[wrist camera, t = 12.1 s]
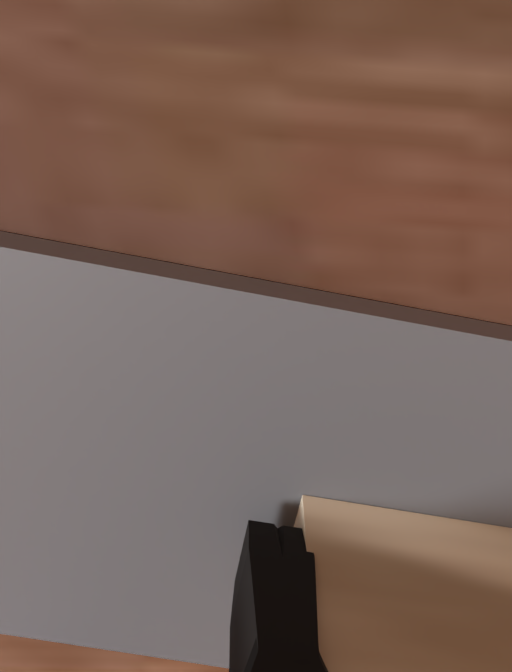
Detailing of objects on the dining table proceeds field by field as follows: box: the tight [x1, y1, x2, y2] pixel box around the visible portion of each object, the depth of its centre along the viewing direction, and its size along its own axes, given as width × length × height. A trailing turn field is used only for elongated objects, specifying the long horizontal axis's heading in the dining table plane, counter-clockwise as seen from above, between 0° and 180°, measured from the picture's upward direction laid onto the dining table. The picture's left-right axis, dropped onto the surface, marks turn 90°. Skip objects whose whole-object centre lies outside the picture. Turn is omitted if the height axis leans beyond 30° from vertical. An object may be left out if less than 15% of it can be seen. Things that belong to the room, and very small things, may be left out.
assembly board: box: [0, 231, 512, 668], centre depth 13 cm, size 12×35×1 cm, turn 80°
